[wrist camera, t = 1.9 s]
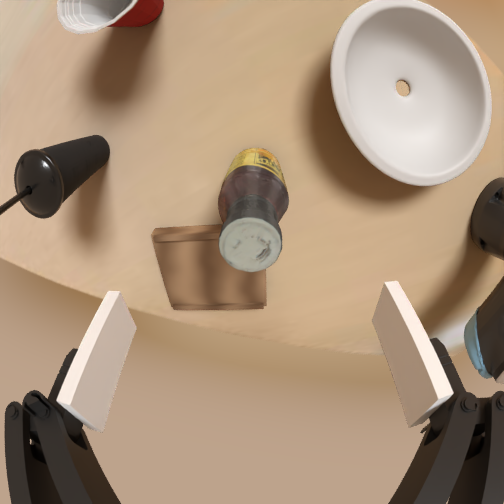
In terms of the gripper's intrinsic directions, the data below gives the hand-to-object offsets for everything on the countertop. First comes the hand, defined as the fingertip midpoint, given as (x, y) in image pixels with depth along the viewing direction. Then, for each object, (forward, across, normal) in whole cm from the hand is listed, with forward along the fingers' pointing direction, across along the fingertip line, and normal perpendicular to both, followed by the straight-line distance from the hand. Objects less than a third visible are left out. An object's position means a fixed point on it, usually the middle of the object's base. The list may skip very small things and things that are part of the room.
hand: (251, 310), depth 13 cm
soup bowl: (+25, -20, -12) cm, 34 cm away
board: (+25, +7, +15) cm, 30 cm away
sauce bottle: (+25, 0, 0) cm, 25 cm away
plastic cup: (+25, +13, -24) cm, 37 cm away
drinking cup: (+25, +22, -5) cm, 34 cm away
